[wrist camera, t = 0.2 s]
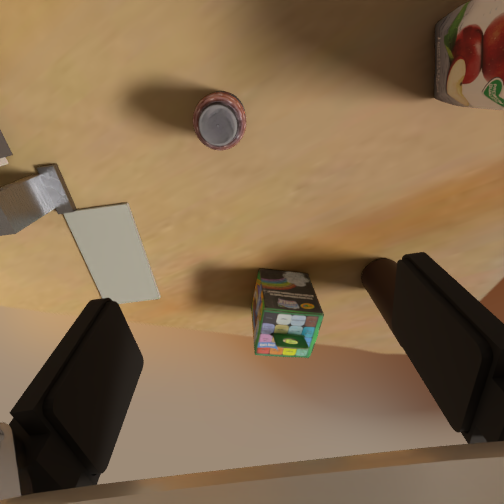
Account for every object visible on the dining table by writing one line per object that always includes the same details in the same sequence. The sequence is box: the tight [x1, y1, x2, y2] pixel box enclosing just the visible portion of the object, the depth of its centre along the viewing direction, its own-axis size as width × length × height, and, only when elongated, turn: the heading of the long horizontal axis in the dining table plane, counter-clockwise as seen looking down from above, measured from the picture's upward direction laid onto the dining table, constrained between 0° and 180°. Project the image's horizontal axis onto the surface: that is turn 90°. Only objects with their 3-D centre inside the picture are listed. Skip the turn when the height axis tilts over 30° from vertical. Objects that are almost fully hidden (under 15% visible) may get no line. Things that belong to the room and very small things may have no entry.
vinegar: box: [362, 259, 402, 347], centre depth 45 cm, size 7×7×20 cm
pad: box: [64, 203, 161, 304], centre depth 50 cm, size 18×10×1 cm, turn 8°
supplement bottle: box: [193, 91, 246, 150], centre depth 36 cm, size 6×6×11 cm
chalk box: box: [251, 269, 324, 358], centre depth 48 cm, size 9×9×15 cm
